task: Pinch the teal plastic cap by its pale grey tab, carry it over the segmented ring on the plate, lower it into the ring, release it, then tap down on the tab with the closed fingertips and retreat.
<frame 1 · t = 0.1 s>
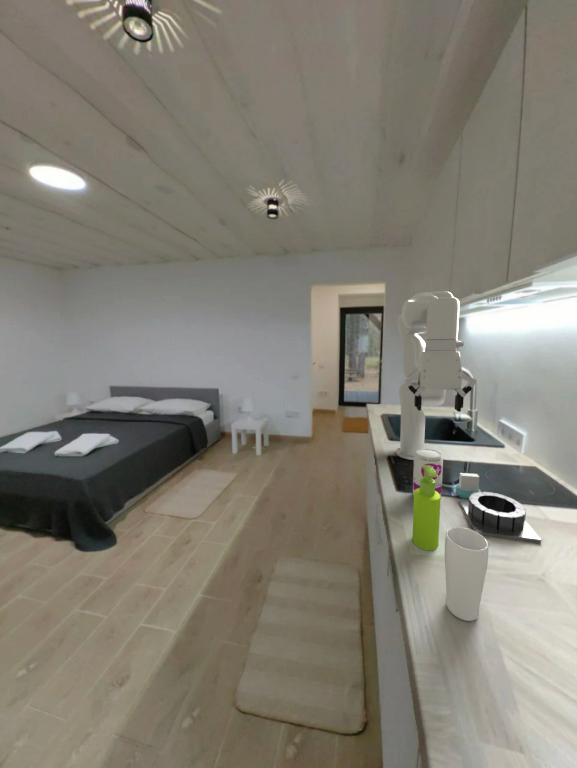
hand: (437, 409, 81), 31 cm above the counter, fingers open, 9 cm apart
drinking glass: (461, 610, 56), on the counter
cap: (468, 495, 96), on the counter
supplement can: (426, 498, 95), on the counter
soap dispenser: (425, 544, 74), on the counter
segmented ring on plate: (495, 520, 83), on the counter
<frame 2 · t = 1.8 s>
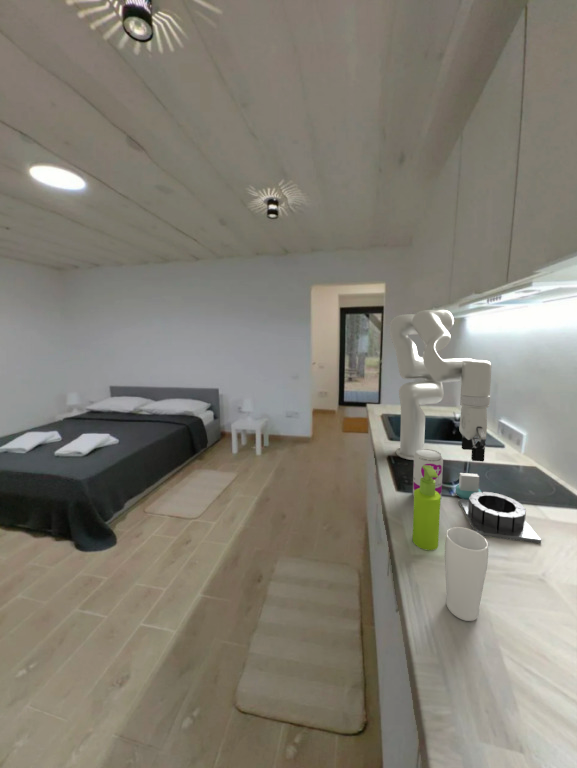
hand: (472, 454, 93), 14 cm above the counter, fingers open, 9 cm apart
nothing on the counter moved.
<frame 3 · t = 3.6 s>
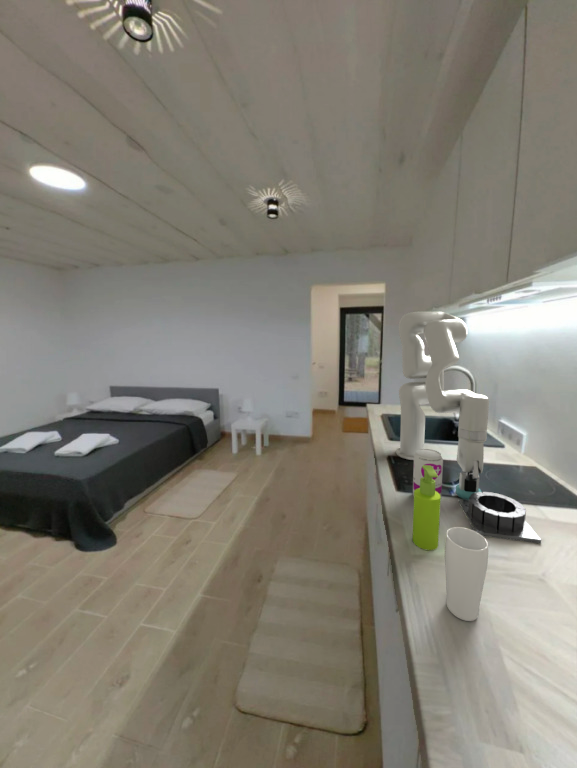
hand: (468, 488, 95), 2 cm above the counter, fingers closed on cap
cap: (468, 495, 96), on the counter, touching gripper
everything else where it was.
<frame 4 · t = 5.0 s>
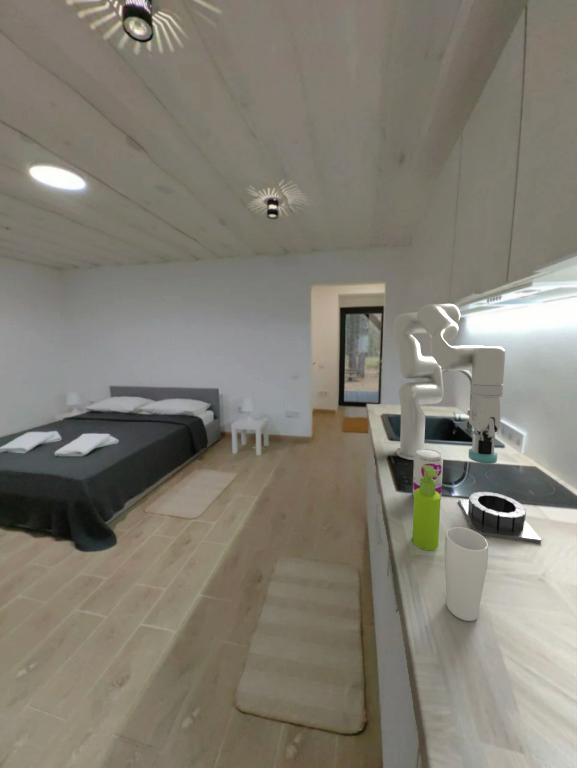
hand: (483, 451, 87), 17 cm above the counter, fingers closed on cap
cap: (482, 458, 88), point 15 cm above the counter, touching gripper
everything else where it was.
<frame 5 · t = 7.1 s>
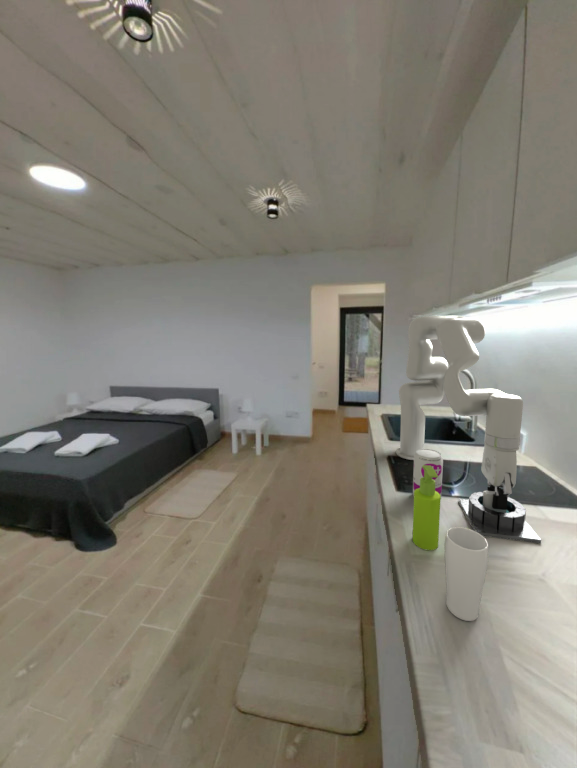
hand: (496, 504, 82), 5 cm above the counter, fingers open, 3 cm apart
cap: (493, 516, 83), point 1 cm above the counter, touching segmented ring on plate
everything else where it was.
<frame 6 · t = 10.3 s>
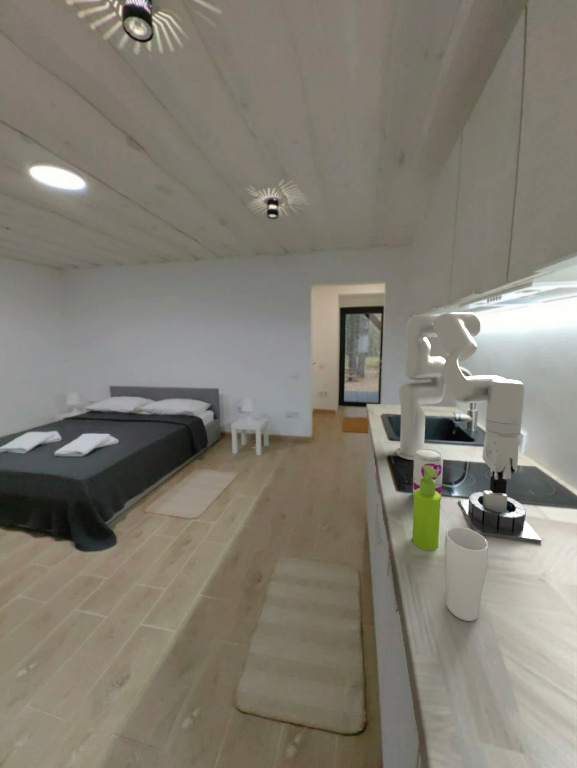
hand: (497, 491, 81), 9 cm above the counter, fingers closed
nothing on the counter moved.
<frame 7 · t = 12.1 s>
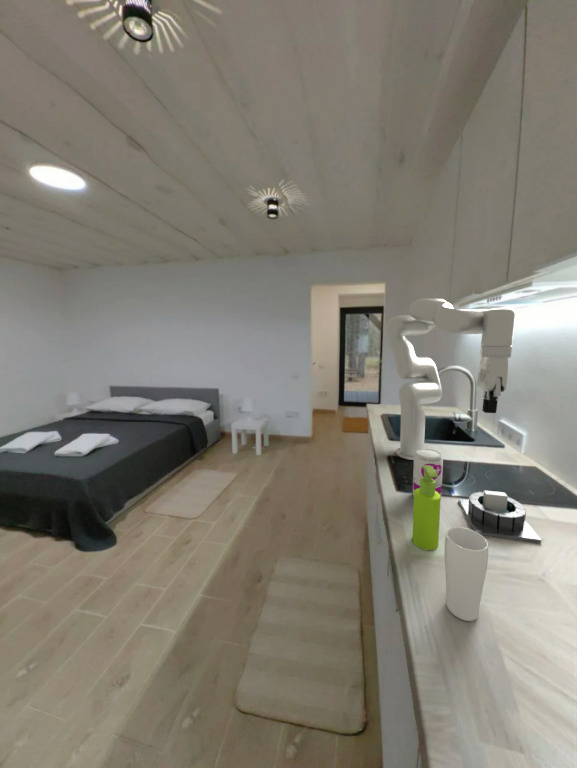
hand: (489, 412, 91), 27 cm above the counter, fingers closed
nothing on the counter moved.
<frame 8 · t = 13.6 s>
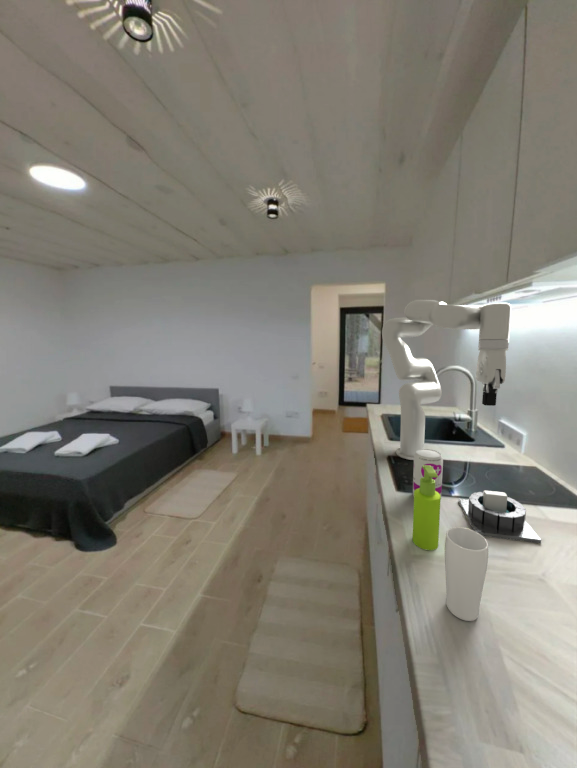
hand: (488, 404, 93), 29 cm above the counter, fingers closed
nothing on the counter moved.
at the end: cap 0.4 cm off-centre on the segmented ring on plate, point 1.0 cm above the segmented ring on plate's base; cap tilted 0°; the gripper is holding nothing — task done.
